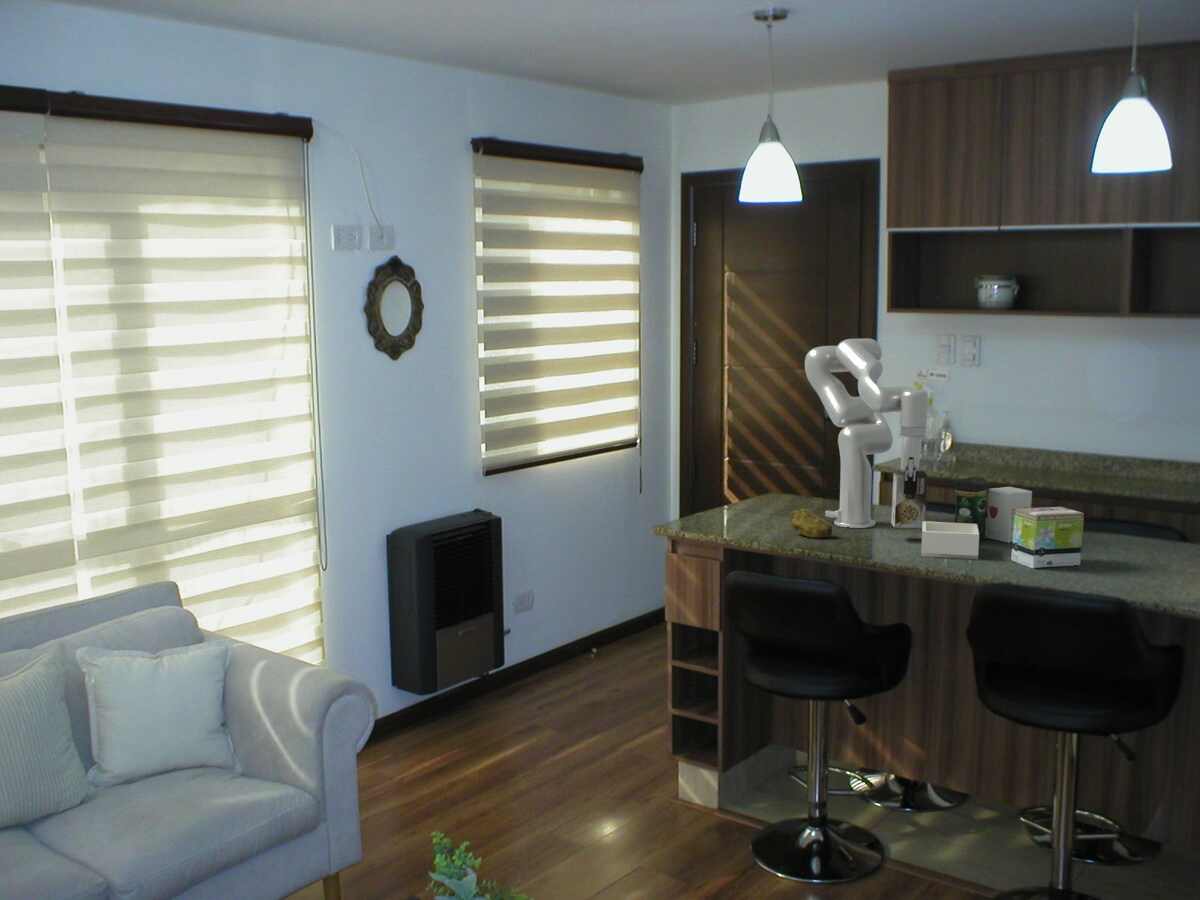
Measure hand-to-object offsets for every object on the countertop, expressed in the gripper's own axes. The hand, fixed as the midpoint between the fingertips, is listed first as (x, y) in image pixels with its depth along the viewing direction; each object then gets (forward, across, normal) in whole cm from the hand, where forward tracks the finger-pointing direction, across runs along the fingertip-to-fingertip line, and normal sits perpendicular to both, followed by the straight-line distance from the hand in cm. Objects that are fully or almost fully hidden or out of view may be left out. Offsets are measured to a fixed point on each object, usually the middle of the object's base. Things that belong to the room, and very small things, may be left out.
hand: (909, 491), depth 344 cm
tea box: (+14, +22, +37) cm, 45 cm away
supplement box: (+14, -8, +29) cm, 33 cm away
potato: (+15, +3, -28) cm, 32 cm away
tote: (+14, +14, +12) cm, 23 cm away
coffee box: (+11, 0, 0) cm, 11 cm away
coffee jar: (+15, -5, +18) cm, 24 cm away
